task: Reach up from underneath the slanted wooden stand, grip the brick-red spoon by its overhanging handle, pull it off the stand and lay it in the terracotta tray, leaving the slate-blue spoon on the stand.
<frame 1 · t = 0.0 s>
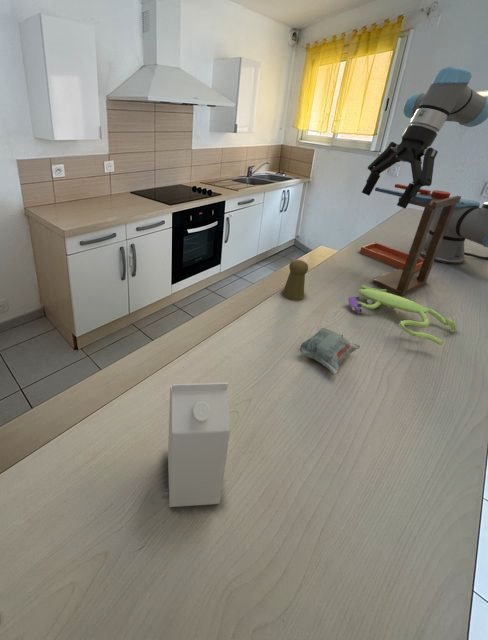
hand: (381, 200, 95), 28 cm above the worktop, tool tilted 20°, fingers open, 13 cm apart
milk carton: (192, 479, 48), on the worktop
slanted wooden stand: (385, 277, 109), on the worktop
cork: (293, 295, 97), on the worktop
red spoon: (428, 194, 100), point 29 cm above the worktop, touching slanted wooden stand
figurine: (396, 319, 88), on the worktop
tray: (390, 259, 123), on the worktop
blue spoon: (409, 198, 93), point 29 cm above the worktop, touching slanted wooden stand
packaged food: (327, 358, 73), on the worktop
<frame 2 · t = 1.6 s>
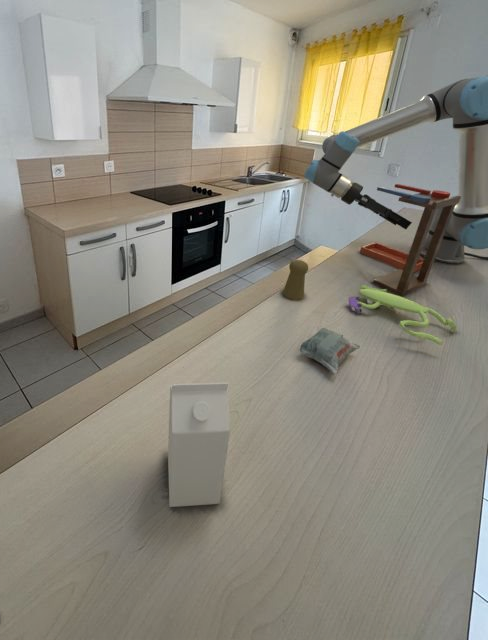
hand: (403, 223, 109), 17 cm above the worktop, tool tilted 65°, fingers open, 13 cm apart
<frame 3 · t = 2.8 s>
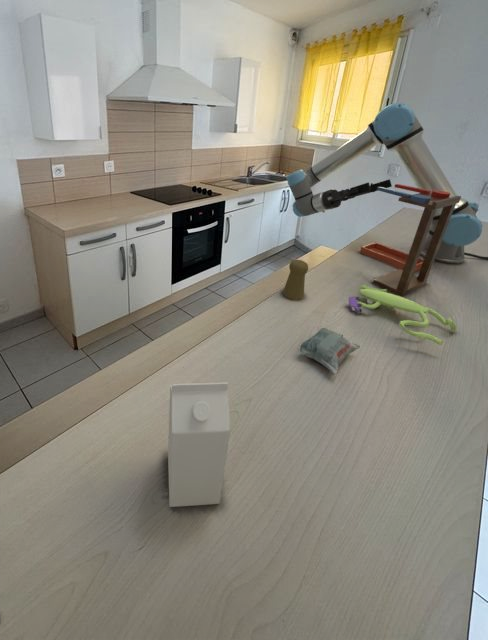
hand: (380, 184, 111), 29 cm above the worktop, tool pointing upward, fingers open, 13 cm apart
nothing on the worktop moved.
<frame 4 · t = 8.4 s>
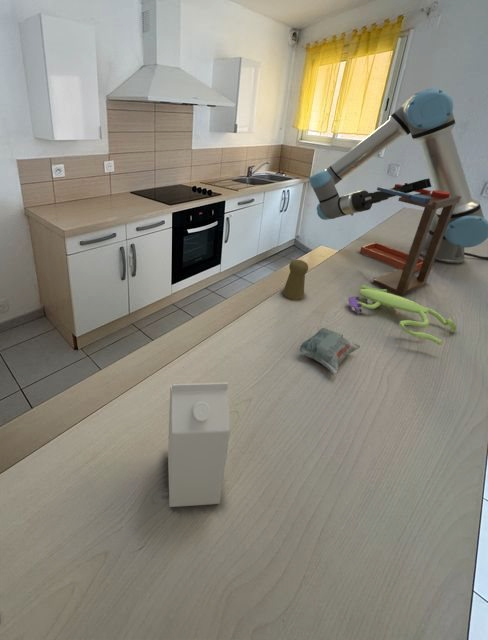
hand: (428, 182, 99), 32 cm above the worktop, tool pointing upward, fingers closed on red spoon, 2 cm apart
red spoon: (428, 194, 100), point 29 cm above the worktop, touching gripper, slanted wooden stand
everything else where it was.
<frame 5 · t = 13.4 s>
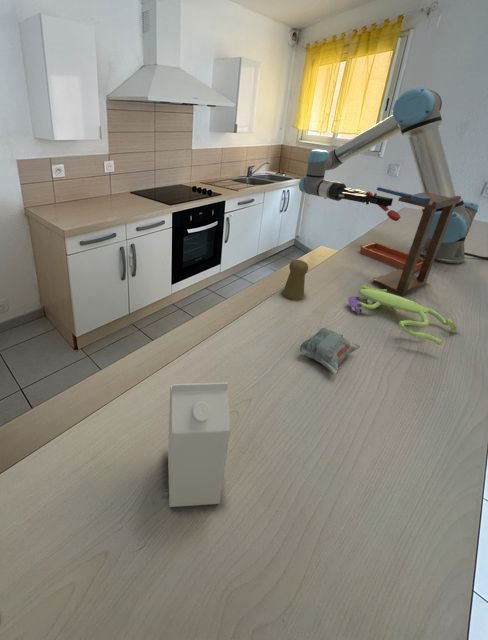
hand: (389, 202, 119), 21 cm above the worktop, tool horizontal, fingers closed on red spoon, 2 cm apart
red spoon: (386, 211, 121), point 18 cm above the worktop, tilted 28°, touching gripper
everything else where it was.
when the fingers open (7 cm above the worktop, at t = 18.2 s): red spoon drops 2 cm, resting on tray.
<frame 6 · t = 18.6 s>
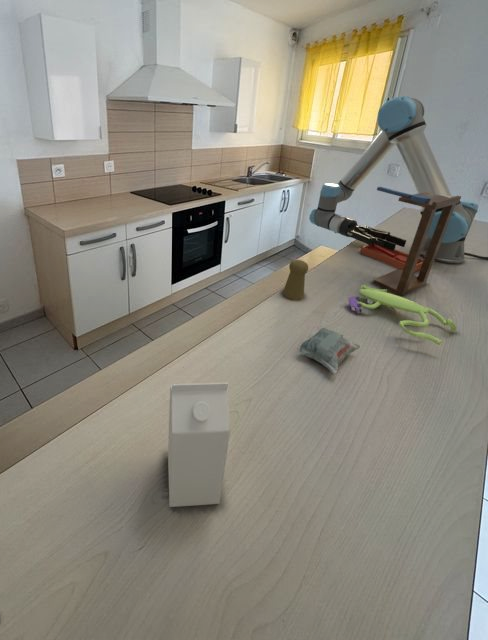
hand: (399, 245, 119), 6 cm above the worktop, tool horizontal, fingers open, 7 cm apart
red spoon: (393, 257, 122), point 1 cm above the worktop, tilted 8°, touching tray
everything else where it was.
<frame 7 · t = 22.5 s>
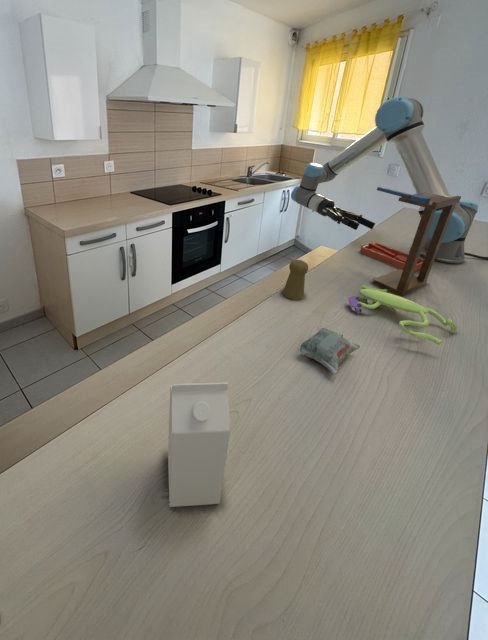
hand: (365, 226, 129), 9 cm above the worktop, tool horizontal, fingers open, 13 cm apart
nothing on the worktop moved.
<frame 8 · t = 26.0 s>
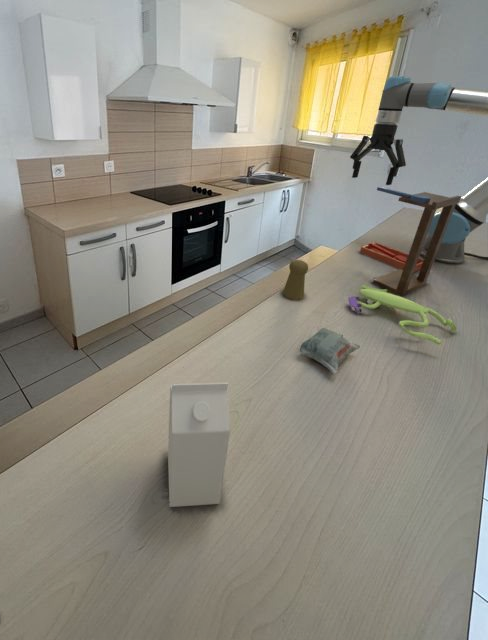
hand: (370, 181, 126), 27 cm above the worktop, tool pointing down, fingers open, 13 cm apart
nothing on the worktop moved.
at the end: red spoon inside the target area in the tray (0.7 cm from its centre), point 1.3 cm above the tray's base; the gripper is holding nothing; blue spoon moved 0.1 cm from its start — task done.
